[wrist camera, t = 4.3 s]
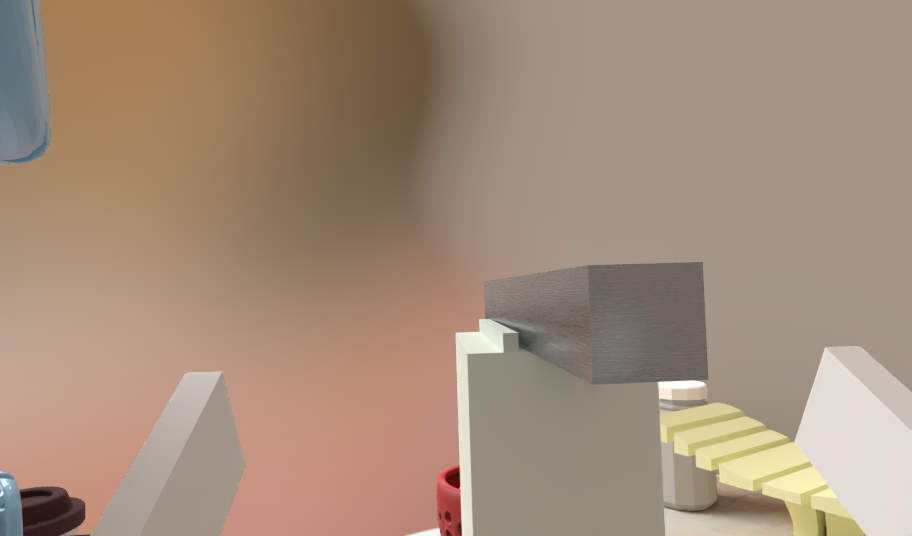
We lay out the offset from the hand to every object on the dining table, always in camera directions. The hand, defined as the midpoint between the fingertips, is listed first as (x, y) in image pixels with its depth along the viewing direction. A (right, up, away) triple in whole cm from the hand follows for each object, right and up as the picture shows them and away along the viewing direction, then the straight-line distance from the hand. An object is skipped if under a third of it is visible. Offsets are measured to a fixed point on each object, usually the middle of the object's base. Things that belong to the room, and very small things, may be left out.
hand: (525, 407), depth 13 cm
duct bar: (+4, -1, +22) cm, 22 cm away
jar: (+33, -33, +78) cm, 91 cm away
